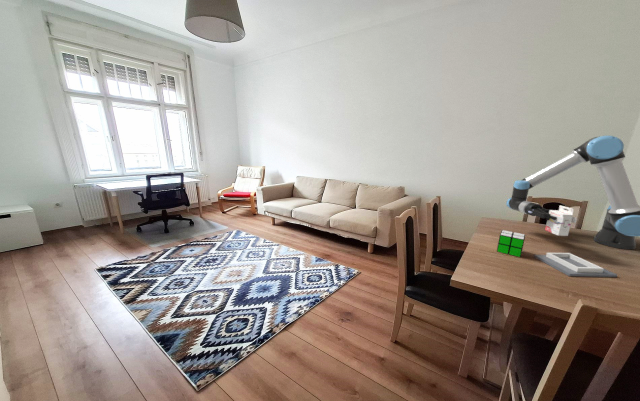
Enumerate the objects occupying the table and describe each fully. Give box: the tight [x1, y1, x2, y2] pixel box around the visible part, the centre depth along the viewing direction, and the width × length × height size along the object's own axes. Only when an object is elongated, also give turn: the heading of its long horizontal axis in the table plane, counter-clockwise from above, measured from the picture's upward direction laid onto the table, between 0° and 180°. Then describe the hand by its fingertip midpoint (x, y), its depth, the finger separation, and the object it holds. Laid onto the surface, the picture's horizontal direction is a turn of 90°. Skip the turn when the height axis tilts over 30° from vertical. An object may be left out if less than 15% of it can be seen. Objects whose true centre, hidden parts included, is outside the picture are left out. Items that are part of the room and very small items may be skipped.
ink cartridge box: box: [544, 205, 574, 237], centre depth 121 cm, size 9×5×15 cm, turn 174°
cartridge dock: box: [533, 252, 618, 278], centre depth 109 cm, size 20×18×3 cm
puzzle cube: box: [496, 229, 526, 258], centre depth 123 cm, size 10×10×10 cm
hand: (569, 220), depth 116 cm, fingers closed on ink cartridge box, 5 cm apart
